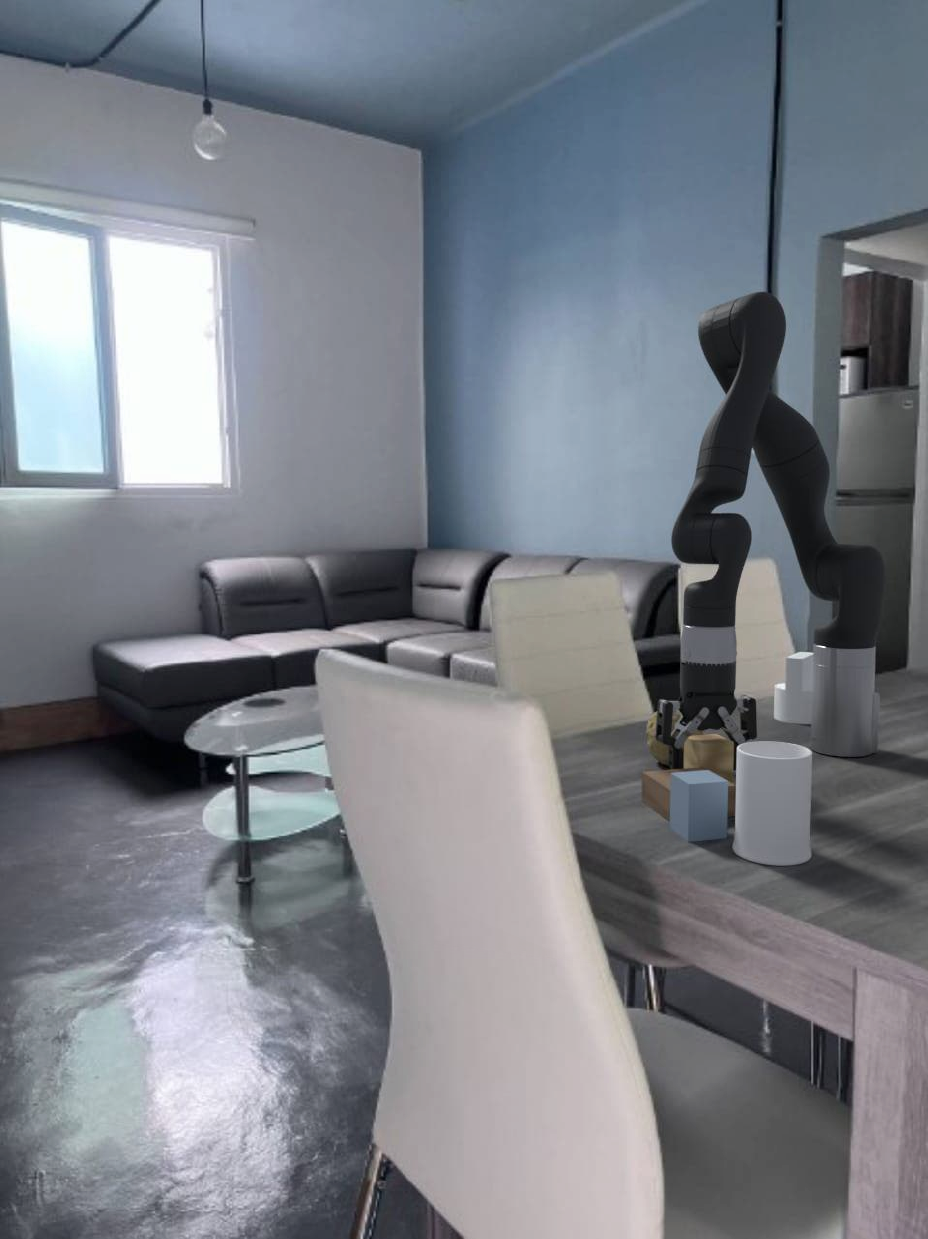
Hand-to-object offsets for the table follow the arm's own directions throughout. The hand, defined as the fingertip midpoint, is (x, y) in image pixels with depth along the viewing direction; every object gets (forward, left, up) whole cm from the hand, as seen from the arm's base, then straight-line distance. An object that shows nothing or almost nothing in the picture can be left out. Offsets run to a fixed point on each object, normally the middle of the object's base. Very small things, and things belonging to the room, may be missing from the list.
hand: (705, 771), depth 131 cm
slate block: (+10, +17, -2) cm, 20 cm away
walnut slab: (+7, +8, -2) cm, 11 cm away
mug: (+4, +24, -3) cm, 24 cm away
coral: (-1, -13, -3) cm, 13 cm away
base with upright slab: (-37, -36, -3) cm, 52 cm away
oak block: (0, 0, -2) cm, 2 cm away
